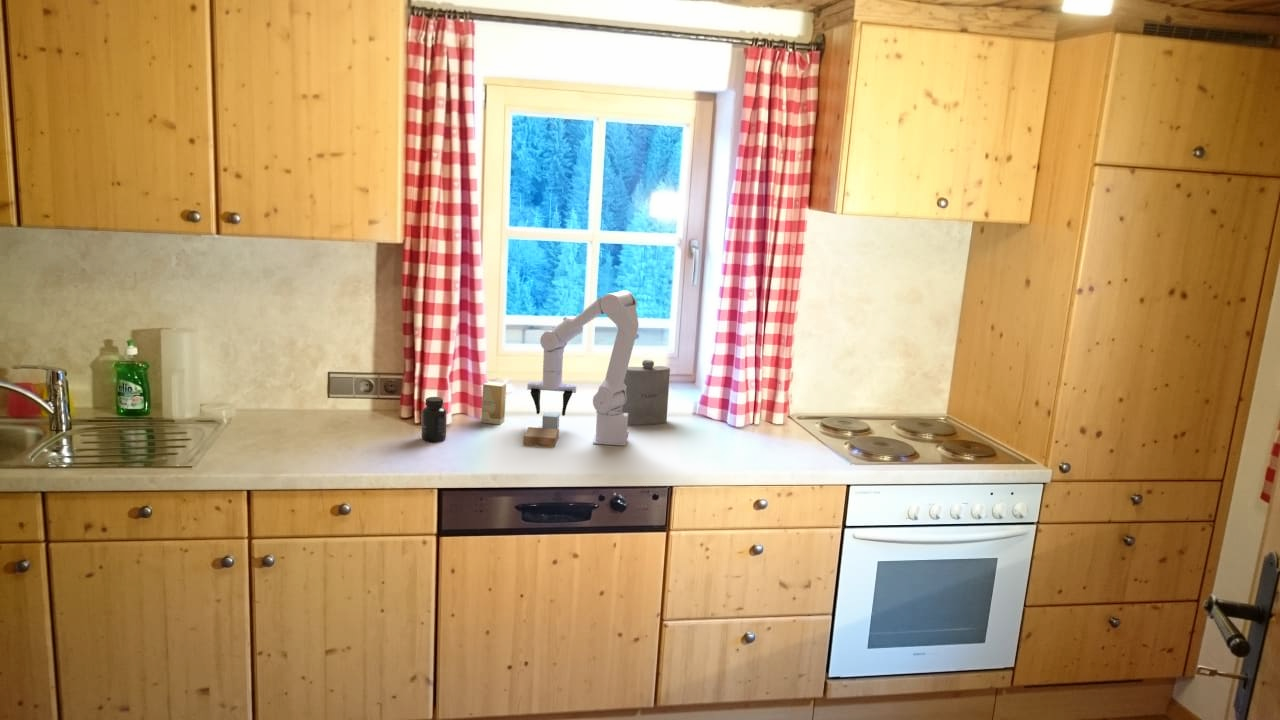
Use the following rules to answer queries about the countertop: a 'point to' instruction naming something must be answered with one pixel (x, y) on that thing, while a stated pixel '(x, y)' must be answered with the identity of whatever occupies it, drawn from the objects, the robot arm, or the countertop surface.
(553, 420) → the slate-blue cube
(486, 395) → the skincare box
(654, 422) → the flask
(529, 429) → the walnut block
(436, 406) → the supplement bottle
